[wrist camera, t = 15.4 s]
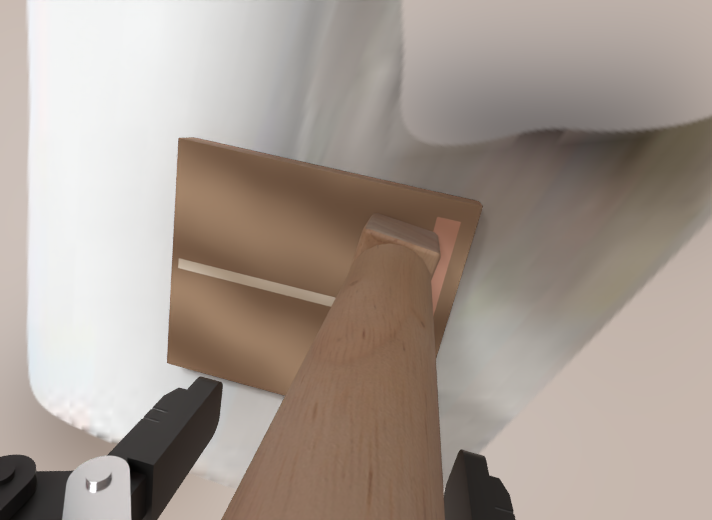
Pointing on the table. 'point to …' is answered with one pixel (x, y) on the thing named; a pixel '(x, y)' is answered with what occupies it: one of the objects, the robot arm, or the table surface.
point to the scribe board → (283, 256)
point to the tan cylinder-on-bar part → (360, 398)
